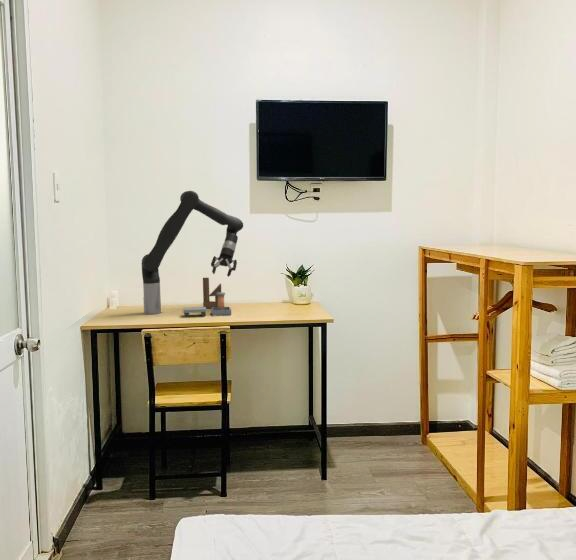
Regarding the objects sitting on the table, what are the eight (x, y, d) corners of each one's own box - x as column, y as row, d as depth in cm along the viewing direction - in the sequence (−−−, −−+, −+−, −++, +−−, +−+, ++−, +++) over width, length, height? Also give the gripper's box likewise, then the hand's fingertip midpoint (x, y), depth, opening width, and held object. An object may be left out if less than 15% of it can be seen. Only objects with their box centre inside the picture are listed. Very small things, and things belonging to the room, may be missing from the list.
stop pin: (217, 313, 324) (216, 293, 322) (216, 312, 328) (216, 292, 327) (225, 313, 324) (225, 293, 323) (225, 312, 329) (224, 292, 328)
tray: (212, 315, 320) (212, 310, 320) (211, 312, 330) (211, 307, 330) (231, 315, 322) (231, 309, 322) (229, 311, 332) (229, 306, 332)
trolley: (183, 317, 317) (183, 310, 316) (184, 314, 325) (183, 307, 324) (206, 316, 319) (206, 309, 318) (205, 313, 327) (205, 306, 326)
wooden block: (221, 307, 346) (221, 277, 344) (203, 308, 344) (202, 278, 342) (221, 306, 350) (220, 276, 348) (203, 307, 348) (202, 277, 346)
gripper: (215, 245, 337) (207, 269, 330) (239, 248, 334) (231, 273, 328) (217, 251, 343) (209, 275, 336) (240, 255, 341) (233, 279, 334)
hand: (220, 274), depth 332 cm, fingers open, 8 cm apart
